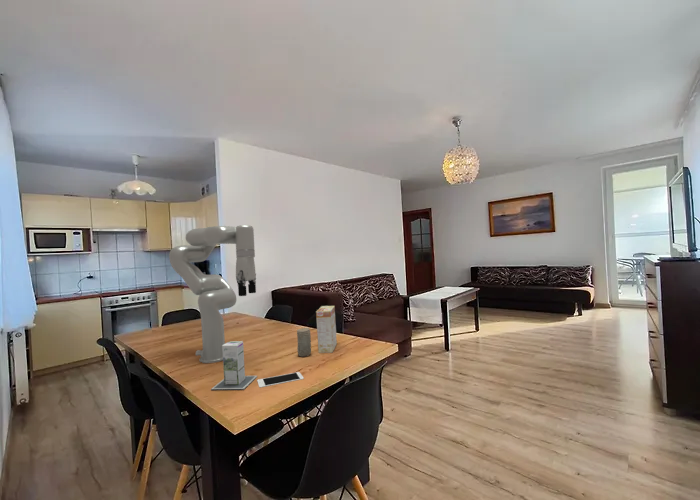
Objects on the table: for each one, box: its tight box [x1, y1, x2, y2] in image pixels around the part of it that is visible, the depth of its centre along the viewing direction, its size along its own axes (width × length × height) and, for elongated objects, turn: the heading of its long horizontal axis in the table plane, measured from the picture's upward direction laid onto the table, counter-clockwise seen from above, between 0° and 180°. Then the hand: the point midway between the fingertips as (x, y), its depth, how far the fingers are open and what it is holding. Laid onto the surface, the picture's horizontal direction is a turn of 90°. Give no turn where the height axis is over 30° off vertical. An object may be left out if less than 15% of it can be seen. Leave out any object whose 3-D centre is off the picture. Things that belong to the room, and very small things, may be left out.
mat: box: [210, 375, 258, 391], centre depth 120 cm, size 12×12×1 cm
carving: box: [296, 327, 312, 358], centre depth 150 cm, size 6×8×12 cm
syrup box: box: [222, 340, 246, 385], centre depth 120 cm, size 6×6×14 cm
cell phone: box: [256, 371, 305, 389], centre depth 121 cm, size 8×16×1 cm, turn 112°
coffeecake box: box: [315, 305, 338, 354], centre depth 159 cm, size 15×7×20 cm, turn 174°
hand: (247, 294), depth 139 cm, fingers open, 9 cm apart
